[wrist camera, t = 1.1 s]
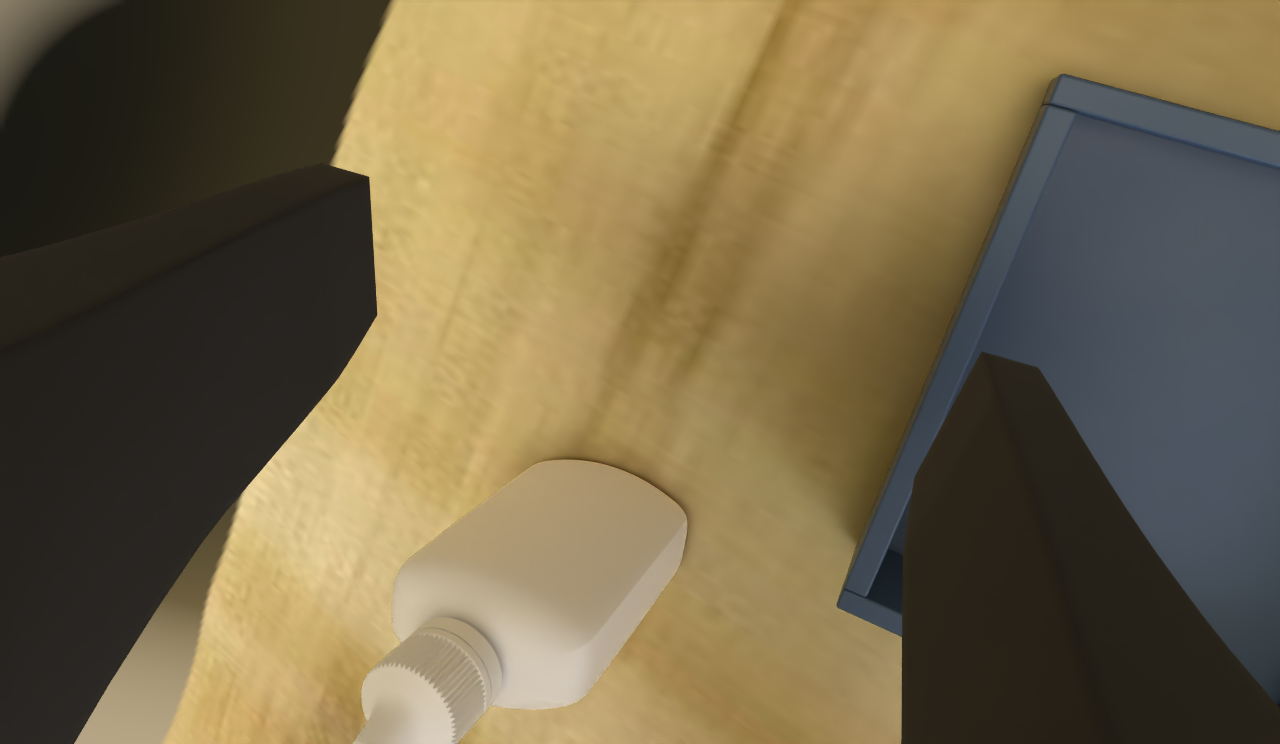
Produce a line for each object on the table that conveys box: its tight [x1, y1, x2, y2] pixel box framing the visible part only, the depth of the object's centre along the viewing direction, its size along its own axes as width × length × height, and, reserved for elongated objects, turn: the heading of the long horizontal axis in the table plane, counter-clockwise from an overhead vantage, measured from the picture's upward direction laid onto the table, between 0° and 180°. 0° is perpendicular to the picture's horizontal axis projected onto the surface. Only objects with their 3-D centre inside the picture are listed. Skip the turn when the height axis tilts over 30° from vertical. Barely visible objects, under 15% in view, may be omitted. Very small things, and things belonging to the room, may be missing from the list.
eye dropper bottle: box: [352, 459, 688, 744], centre depth 23 cm, size 4×6×12 cm
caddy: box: [837, 74, 1280, 708], centre depth 20 cm, size 13×11×4 cm
